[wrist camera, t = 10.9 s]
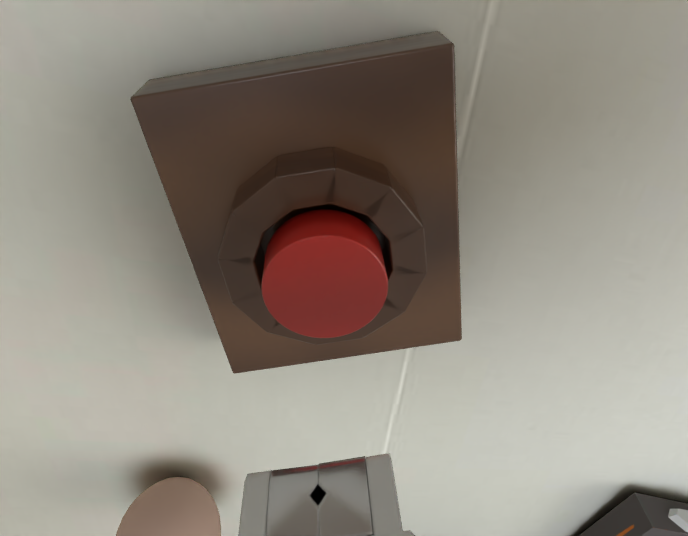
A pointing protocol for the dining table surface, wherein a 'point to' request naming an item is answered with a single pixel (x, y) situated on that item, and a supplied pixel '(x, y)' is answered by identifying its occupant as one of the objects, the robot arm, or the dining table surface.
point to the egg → (172, 511)
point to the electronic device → (643, 518)
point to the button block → (316, 184)
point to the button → (324, 274)
